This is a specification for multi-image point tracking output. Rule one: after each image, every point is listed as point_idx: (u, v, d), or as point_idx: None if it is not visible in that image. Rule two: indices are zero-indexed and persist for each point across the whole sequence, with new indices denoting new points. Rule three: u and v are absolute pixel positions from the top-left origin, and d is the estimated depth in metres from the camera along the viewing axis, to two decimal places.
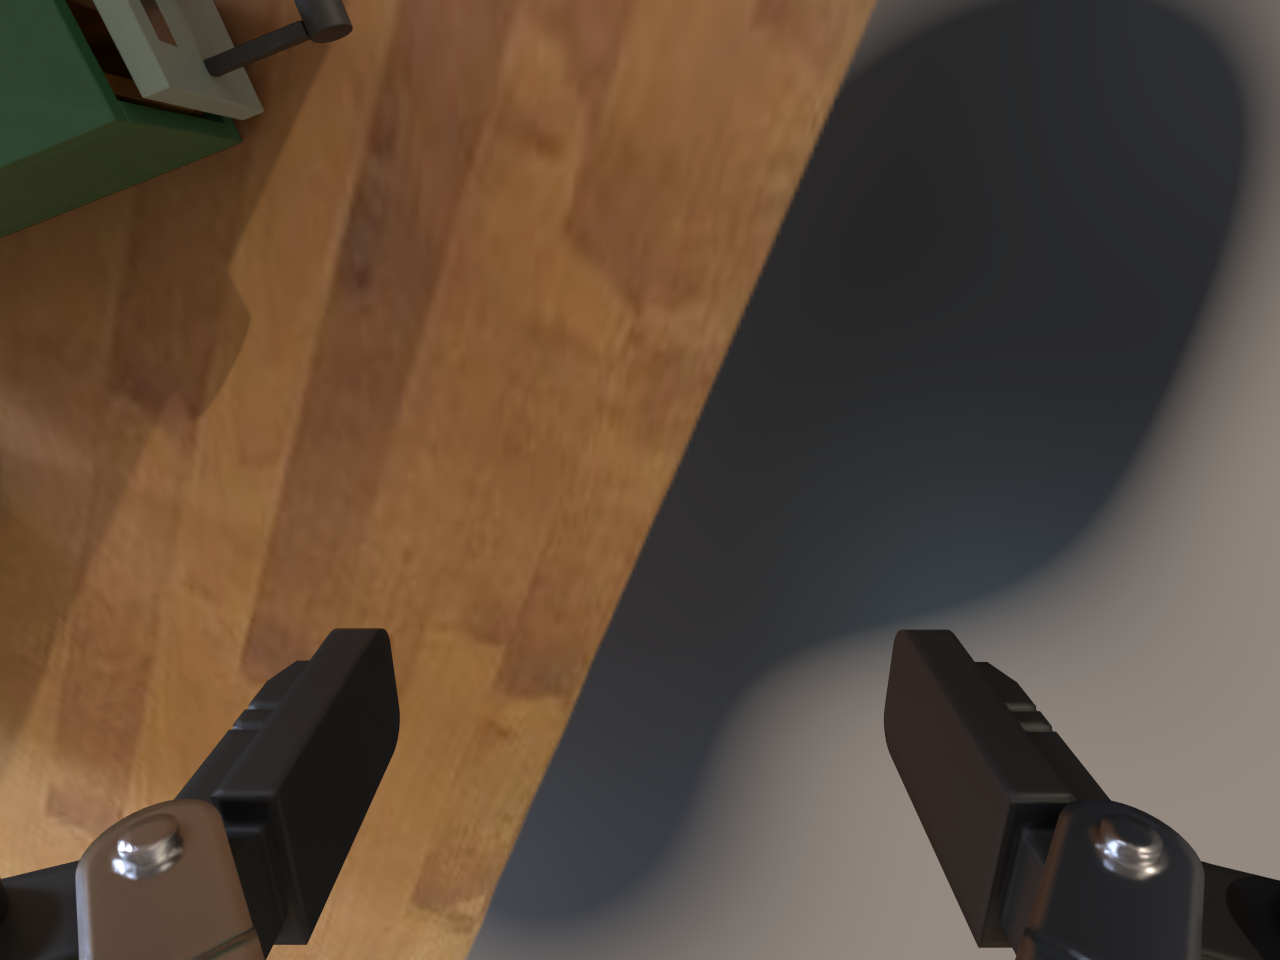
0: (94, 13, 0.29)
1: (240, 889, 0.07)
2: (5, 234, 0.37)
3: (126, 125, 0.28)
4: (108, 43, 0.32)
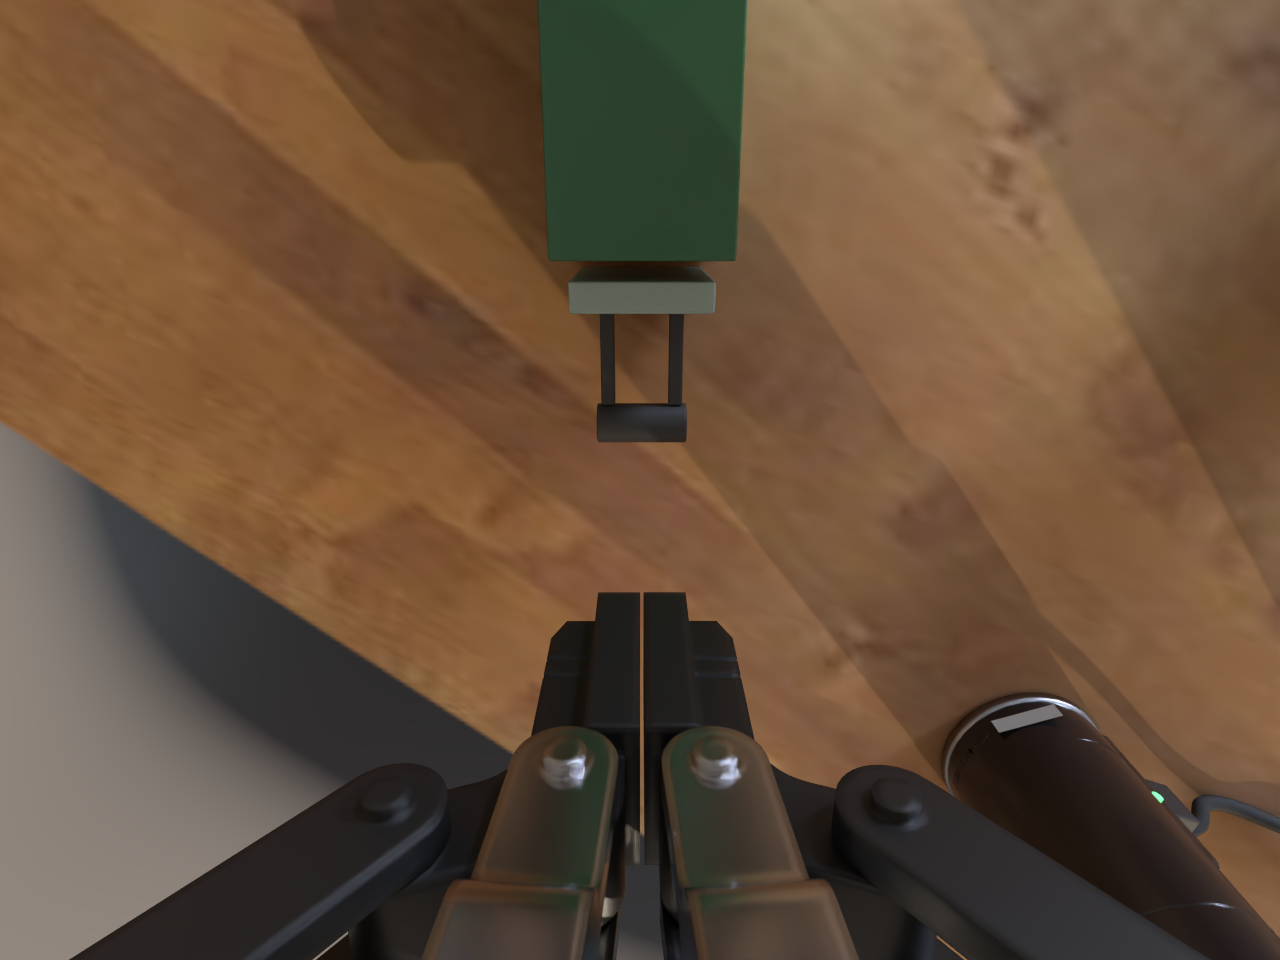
0: None
1: (605, 841, 0.07)
2: None
3: None
4: None
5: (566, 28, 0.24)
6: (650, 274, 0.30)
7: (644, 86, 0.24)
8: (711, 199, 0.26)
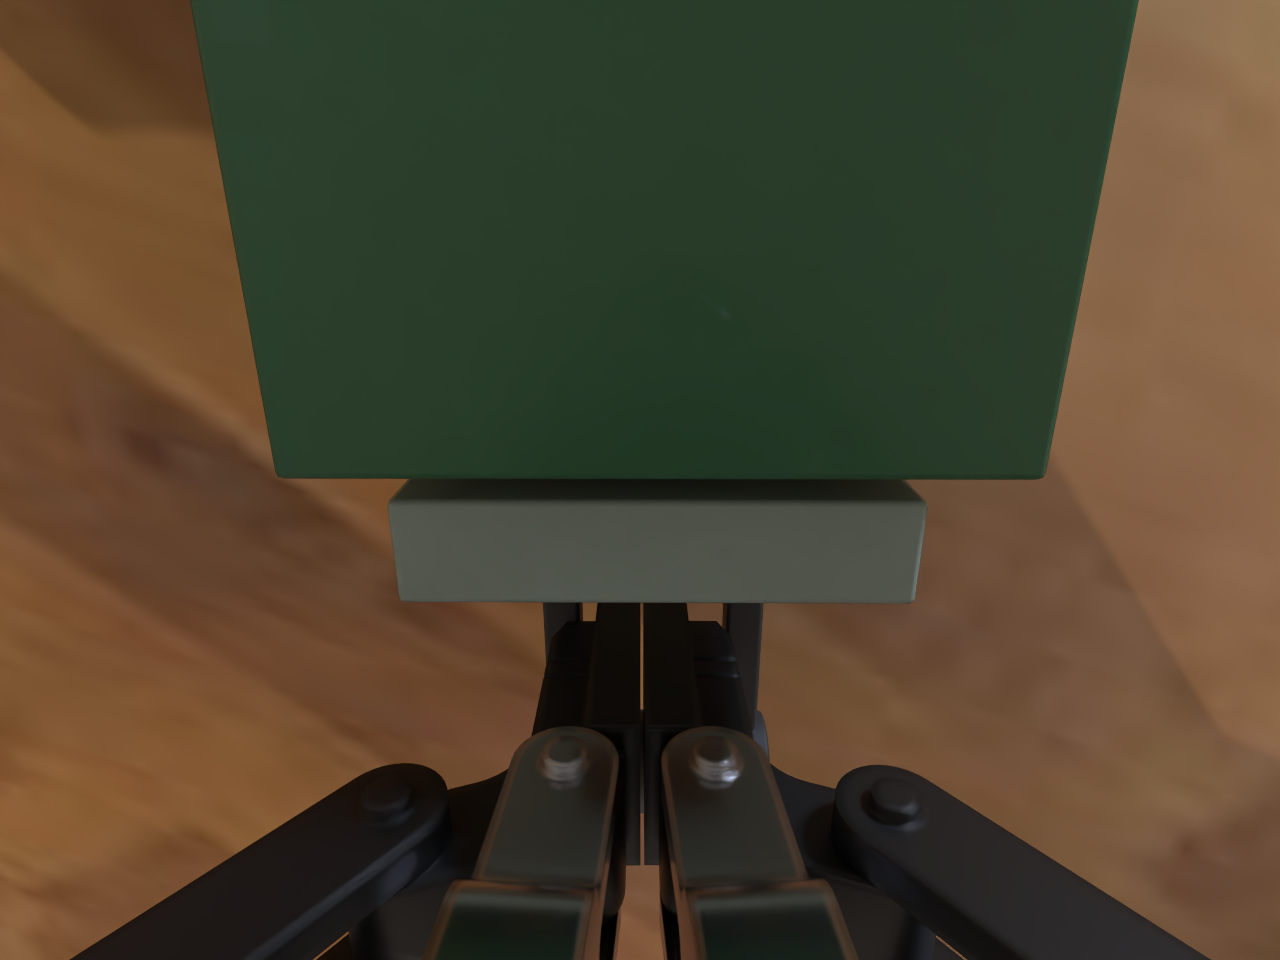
0: None
1: (606, 841, 0.07)
2: None
3: None
4: None
5: None
6: None
7: None
8: (973, 231, 0.06)
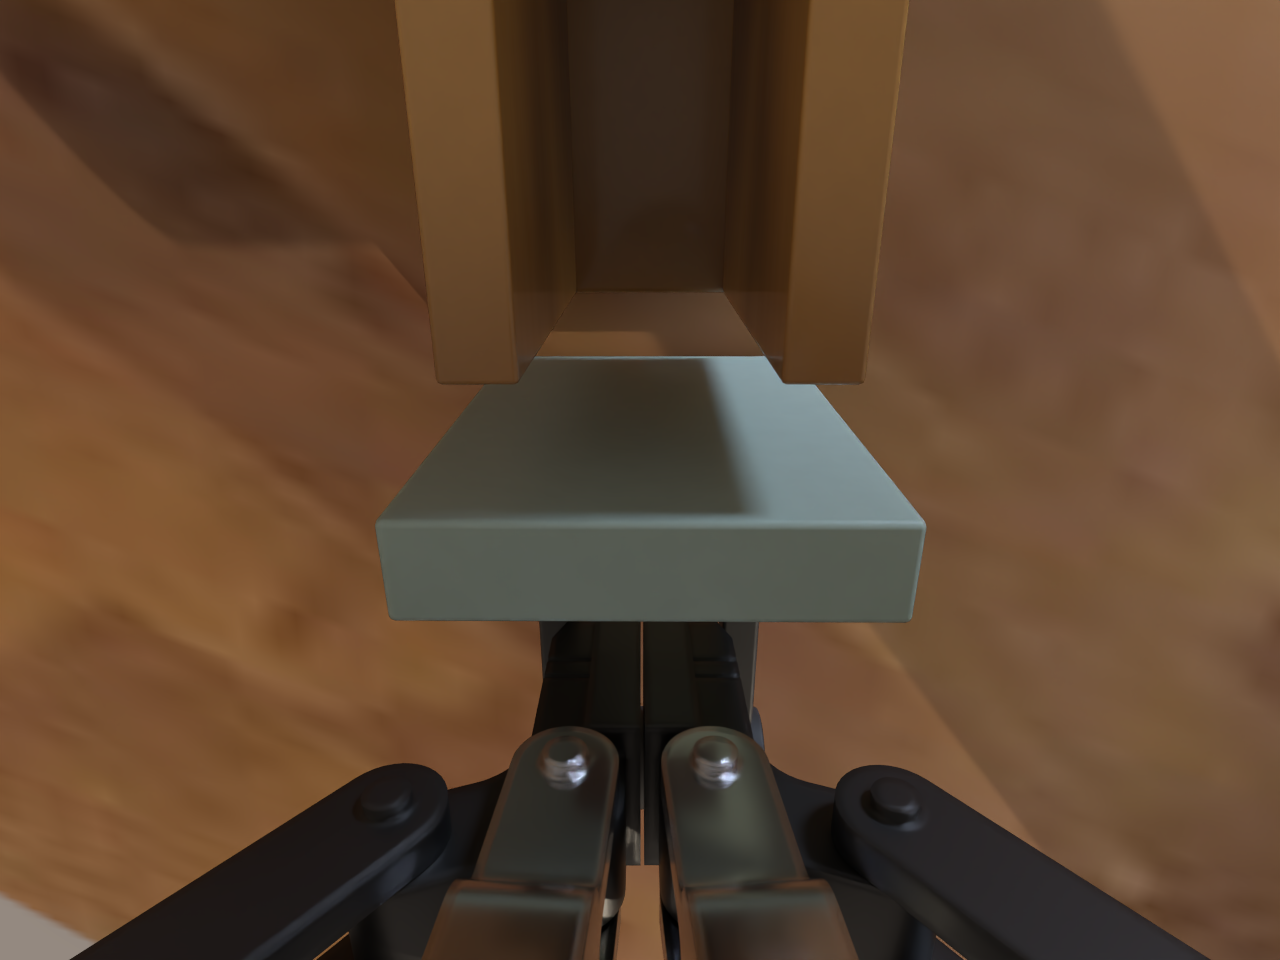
0: (750, 319, 0.09)
1: (606, 841, 0.07)
2: None
3: None
4: (732, 180, 0.11)
5: None
6: (675, 424, 0.10)
7: None
8: None
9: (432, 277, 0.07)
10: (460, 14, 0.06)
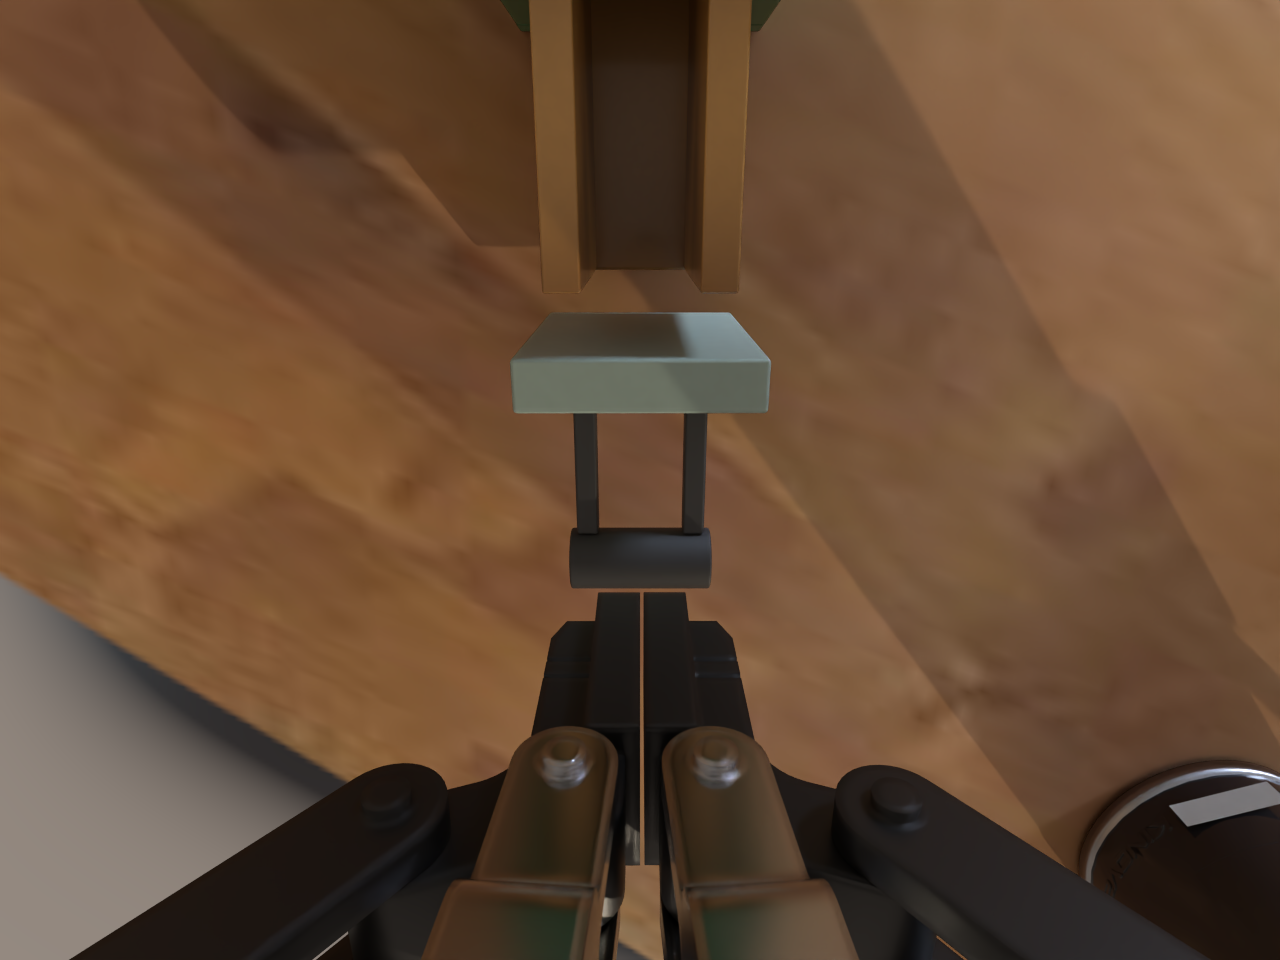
0: (693, 274, 0.17)
1: (605, 841, 0.07)
2: None
3: None
4: (687, 203, 0.20)
5: None
6: (654, 335, 0.18)
7: None
8: None
9: (543, 242, 0.15)
10: (562, 132, 0.14)
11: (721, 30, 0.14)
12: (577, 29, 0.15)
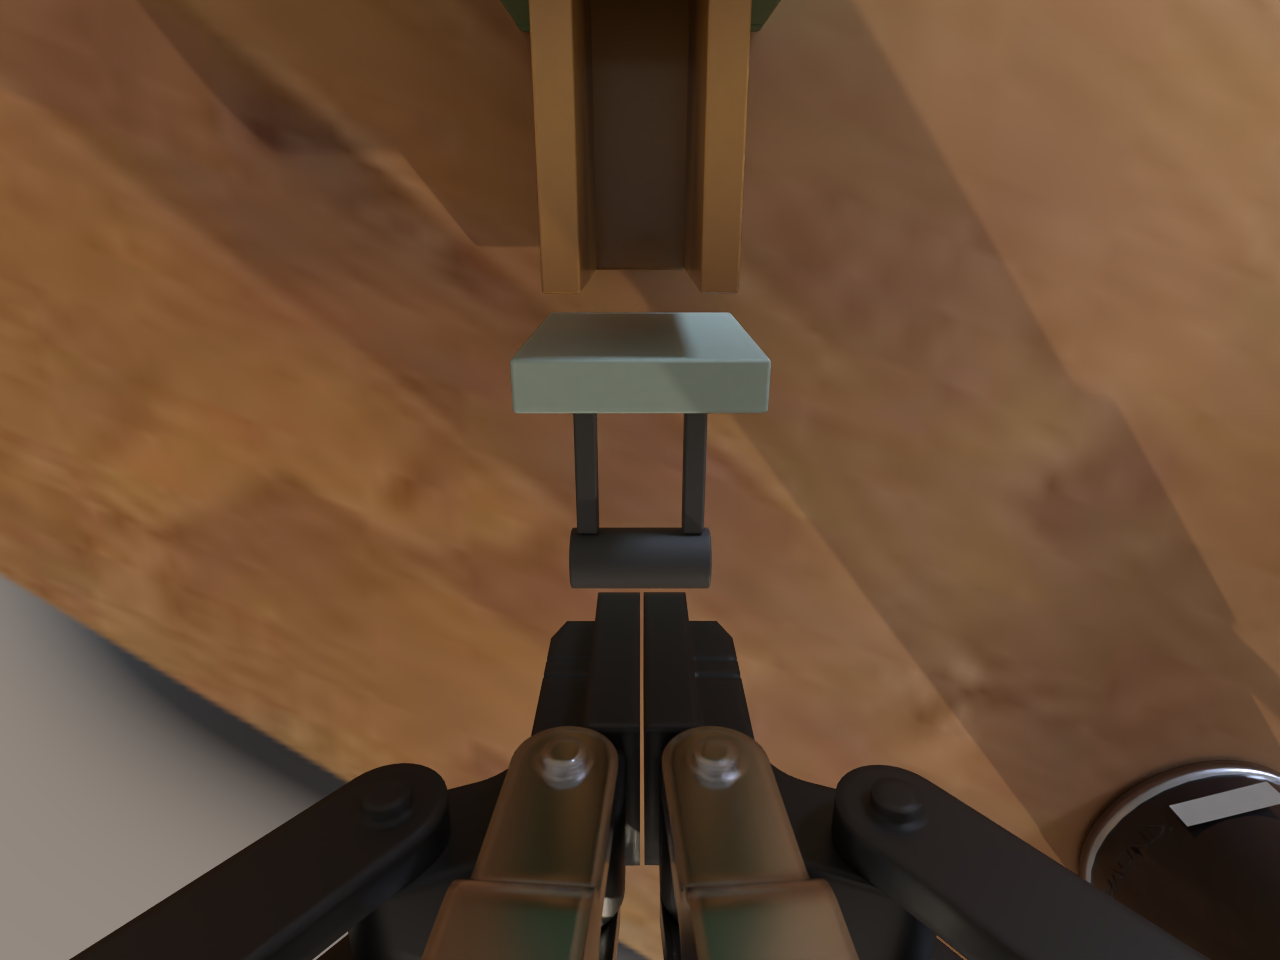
0: (693, 273, 0.17)
1: (605, 841, 0.07)
2: None
3: None
4: (687, 203, 0.20)
5: None
6: (654, 335, 0.18)
7: None
8: None
9: (543, 242, 0.15)
10: (562, 132, 0.14)
11: (721, 30, 0.14)
12: (577, 29, 0.15)
